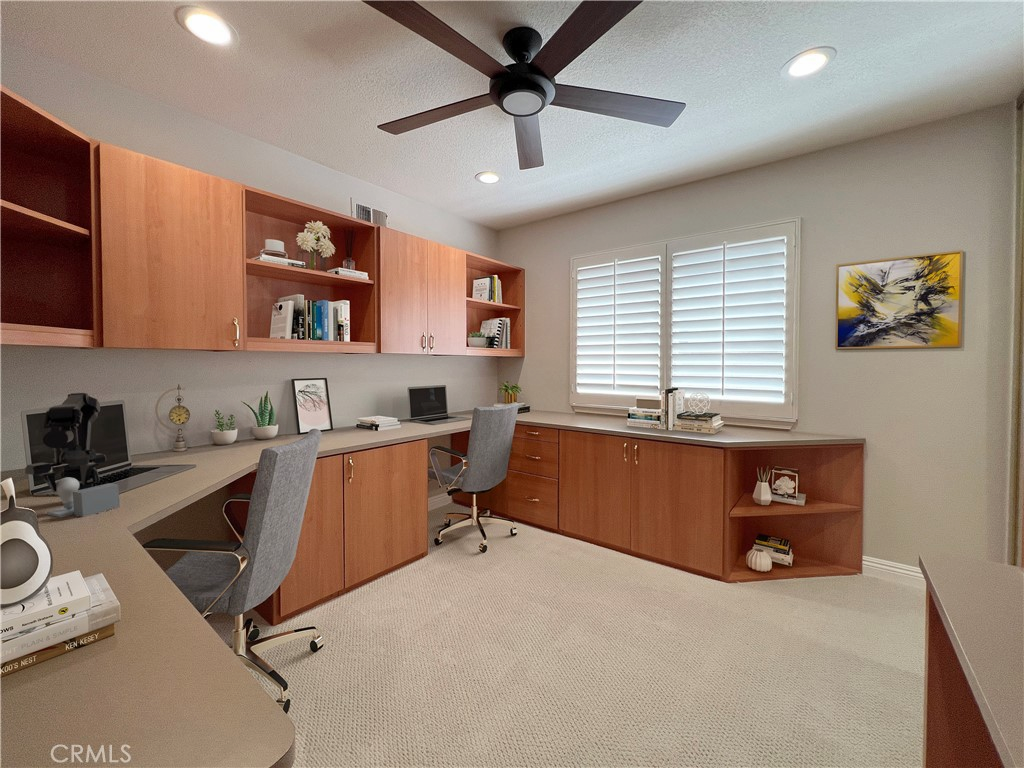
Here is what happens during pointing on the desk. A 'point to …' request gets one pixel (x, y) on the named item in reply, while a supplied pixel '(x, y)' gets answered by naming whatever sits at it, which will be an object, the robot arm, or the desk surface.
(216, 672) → the desk surface
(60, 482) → the lightbulb
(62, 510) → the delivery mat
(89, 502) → the blue-grey rectangular block
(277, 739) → the desk surface
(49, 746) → the desk surface
